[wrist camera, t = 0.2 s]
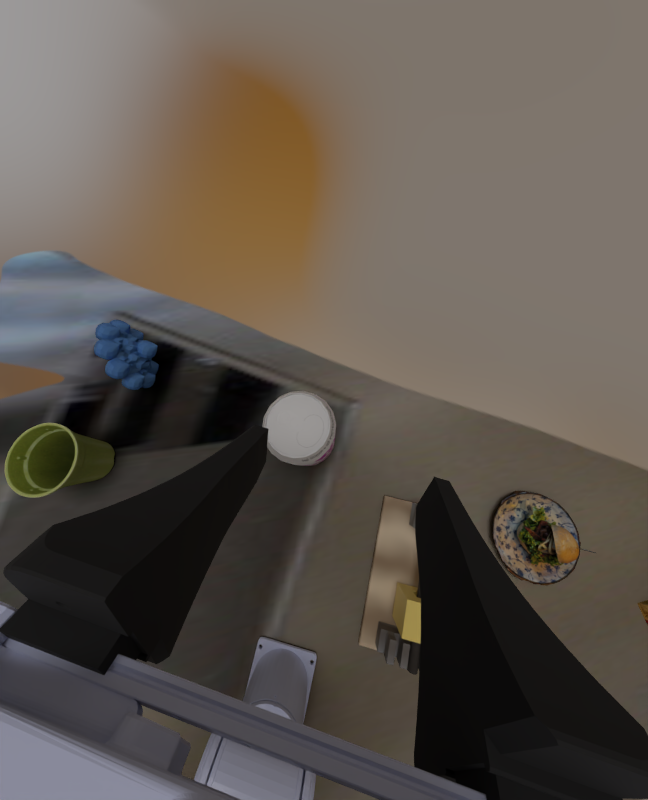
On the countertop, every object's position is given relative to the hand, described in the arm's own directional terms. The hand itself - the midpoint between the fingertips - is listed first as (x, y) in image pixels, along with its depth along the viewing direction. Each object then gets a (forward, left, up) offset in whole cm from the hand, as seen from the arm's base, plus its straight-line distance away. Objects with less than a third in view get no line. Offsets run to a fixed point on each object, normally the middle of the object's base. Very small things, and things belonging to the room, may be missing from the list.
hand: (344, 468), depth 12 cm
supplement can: (+3, +5, -32) cm, 32 cm away
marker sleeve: (-15, -14, -30) cm, 36 cm away
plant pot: (-8, +37, -32) cm, 49 cm away
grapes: (+9, +33, -32) cm, 47 cm away
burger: (-3, -29, -32) cm, 43 cm away
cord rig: (-12, -14, -31) cm, 36 cm away
